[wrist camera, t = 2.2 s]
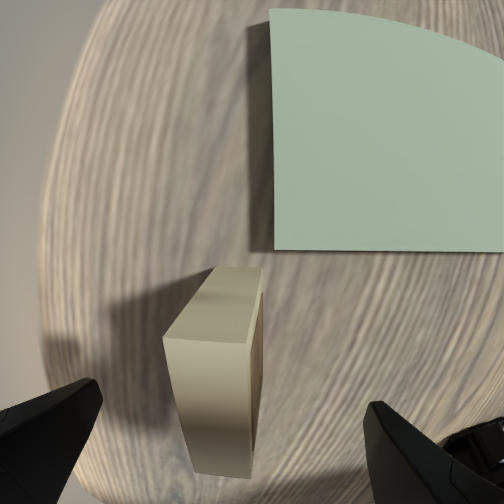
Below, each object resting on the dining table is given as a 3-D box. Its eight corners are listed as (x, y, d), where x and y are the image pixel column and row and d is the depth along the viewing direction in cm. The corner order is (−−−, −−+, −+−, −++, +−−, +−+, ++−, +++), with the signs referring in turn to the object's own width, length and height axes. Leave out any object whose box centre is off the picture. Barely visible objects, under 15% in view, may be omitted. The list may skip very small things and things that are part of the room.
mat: (512, 248, 10) (523, 252, 10) (274, 244, 12) (274, 249, 11) (503, 69, 8) (513, 65, 7) (270, 20, 9) (269, 8, 8)
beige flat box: (263, 381, 13) (252, 479, 8) (223, 379, 14) (194, 472, 8) (264, 267, 12) (247, 343, 6) (215, 266, 12) (162, 337, 6)
